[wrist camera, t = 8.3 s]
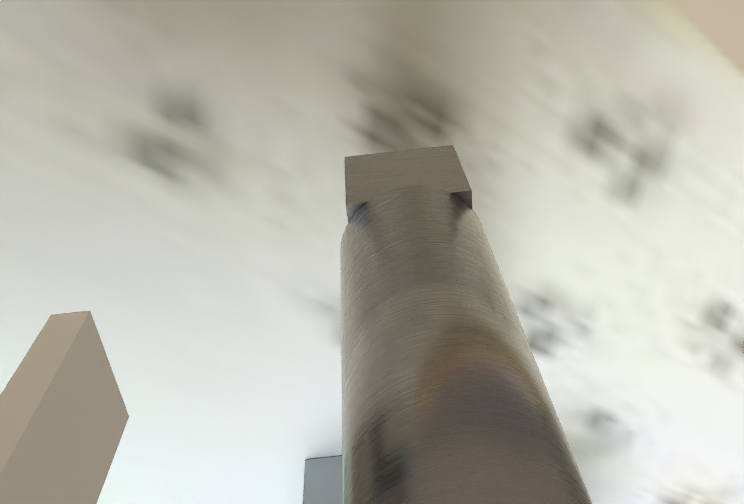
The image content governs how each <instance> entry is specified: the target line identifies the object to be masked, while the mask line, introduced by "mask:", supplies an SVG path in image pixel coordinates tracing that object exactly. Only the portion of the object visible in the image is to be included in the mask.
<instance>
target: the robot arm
mask: <svg viewBox="0 0 744 504" xmlns="http://www.w3.org/2000/svg"><path fill="white" fill-rule="evenodd" d="M742 352H743V353H744V343H743V348H742ZM128 418H129V415H128V413H127V410H126V407H125V404H124V402H123V399H122V396H121V394H120V391H119V388H118V385H117V383H116V380H115V377H114V375H113V372H112V369H111V366H110V364H109V361H108V358H107V355H106V353H105V350H104V347H103V345H102V342H101V339H100V336H99V334H98V331H97V328H96V325H95V323H94V320H93V317H92V315H91V312H90V311H83V312H73V313H64V314H55V315H51V316H50V317H49V319H48V321H47V322H46V324H45V325H44V327H43V329H42V330H41V332H40V333H39V335H38V337H37V338H36V340H35V341H34V343H33V344H32V346H31V348H30V349H29V351H28V352H27V354H26V356H25V357H24V359H23V360H22V362H21V364H20V365H19V367H18V368H17V370H16V371H15V373H14V375H13V376H12V378H11V379H10V381H9V383H8V384H7V386H6V387H5V389H4V391H3V392H2V394H1V395H0V504H96V503H97V500H98V498H99V495H100V492H101V490H102V487H103V484H104V482H105V479H106V476H107V474H108V471H109V468H110V466H111V463H112V460H113V458H114V455H115V452H116V450H117V447H118V444H119V442H120V439H121V436H122V434H123V431H124V428H125V426H126V423H127V420H128Z"/></svg>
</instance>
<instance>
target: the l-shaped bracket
mask: <svg viewBox="0 0 744 504" xmlns="http://www.w3.org/2000/svg"><path fill="white" fill-rule="evenodd" d="M345 189H346V209H347V216H348V225H347V227H346V229H345V232H344V234H343V238H342V242H341V355H342V460H343V504H592V502H591V500H590V497H589V495H588V492H587V490H586V487H585V485H584V482H583V480H582V477H581V475H580V472H579V470H578V467H577V465H576V462H575V460H574V457H573V455H572V452H571V450H570V447H569V444H568V442H567V439H566V437H565V434H564V432H563V429H562V427H561V424H560V422H559V419H558V417H557V414H556V412H555V409H554V407H553V404H552V402H551V399H550V397H549V394H548V392H547V389H546V387H545V384H544V382H543V379H542V376H541V374H540V371H539V369H538V366H537V364H536V361H535V359H534V356H533V354H532V351H531V349H530V346H529V344H528V341H527V339H526V336H525V334H524V331H523V329H522V326H521V324H520V321H519V319H518V316H517V314H516V311H515V309H514V306H513V303H512V301H511V298H510V296H509V293H508V291H507V288H506V286H505V283H504V281H503V278H502V276H501V273H500V271H499V268H498V266H497V263H496V261H495V258H494V256H493V253H492V251H491V248H490V246H489V243H488V241H487V238H486V235H485V233H484V230H483V228H482V226H481V223H480V221H479V219H478V217H477V216H476V214H475V213H474V211H473V210H472V191H471V188H470V186H469V183H468V181H467V178H466V176H465V173H464V171H463V168H462V166H461V164H460V161H459V159H458V156H457V154H456V151H455V149H454V146H453V145H450V146H441V147H432V148H423V149H414V150H405V151H396V152H387V153H378V154H369V155H360V156H350V157H345Z"/></svg>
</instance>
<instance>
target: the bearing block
mask: <svg viewBox="0 0 744 504" xmlns="http://www.w3.org/2000/svg"><path fill="white" fill-rule="evenodd" d="M303 504H343V460H342V456H335V457H326V458H317V459H307V460H305V473H304V492H303Z"/></svg>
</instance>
